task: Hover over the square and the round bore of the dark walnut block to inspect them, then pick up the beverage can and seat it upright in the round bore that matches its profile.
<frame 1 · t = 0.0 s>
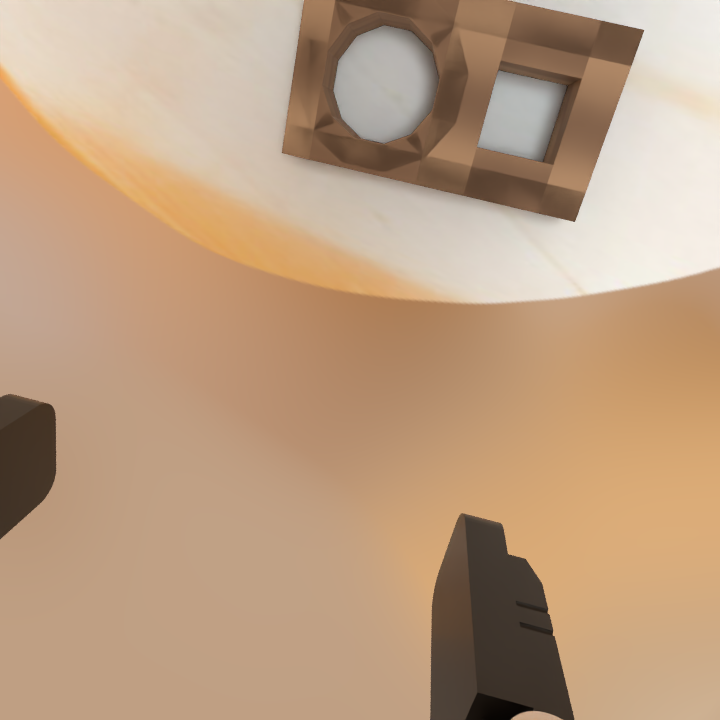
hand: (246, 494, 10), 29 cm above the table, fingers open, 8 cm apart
walnut bore block: (385, 86, 34), on the table
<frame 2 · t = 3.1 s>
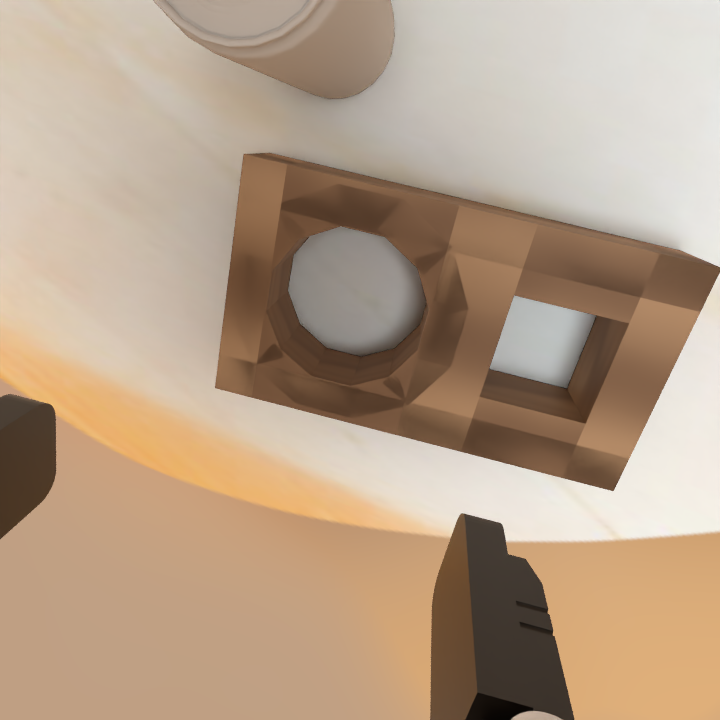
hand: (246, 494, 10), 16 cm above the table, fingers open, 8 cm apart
beverage can: (338, 34, 22), on the table
walnut bore block: (357, 289, 25), on the table
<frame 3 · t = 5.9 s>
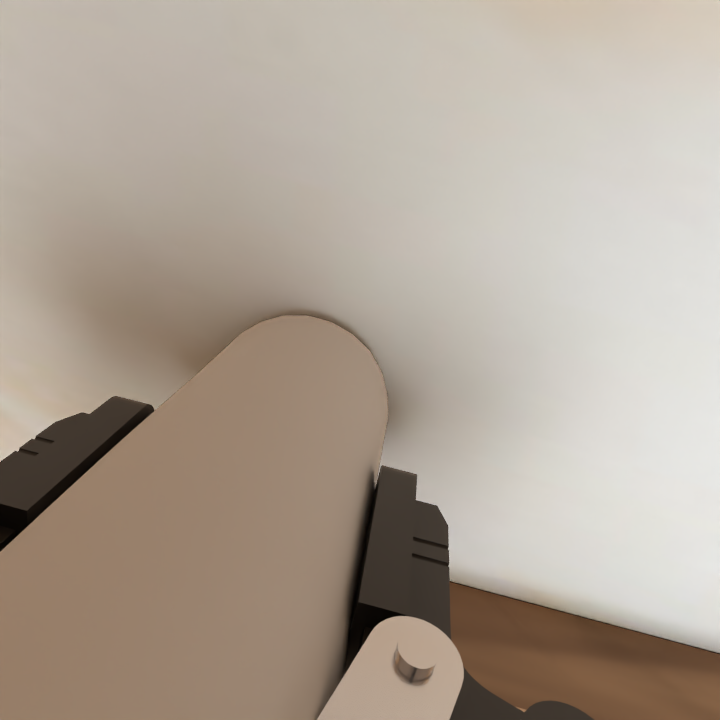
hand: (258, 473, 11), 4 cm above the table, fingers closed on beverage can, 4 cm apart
beverage can: (306, 389, 15), on the table, touching gripper
walnut bore block: (340, 672, 18), on the table
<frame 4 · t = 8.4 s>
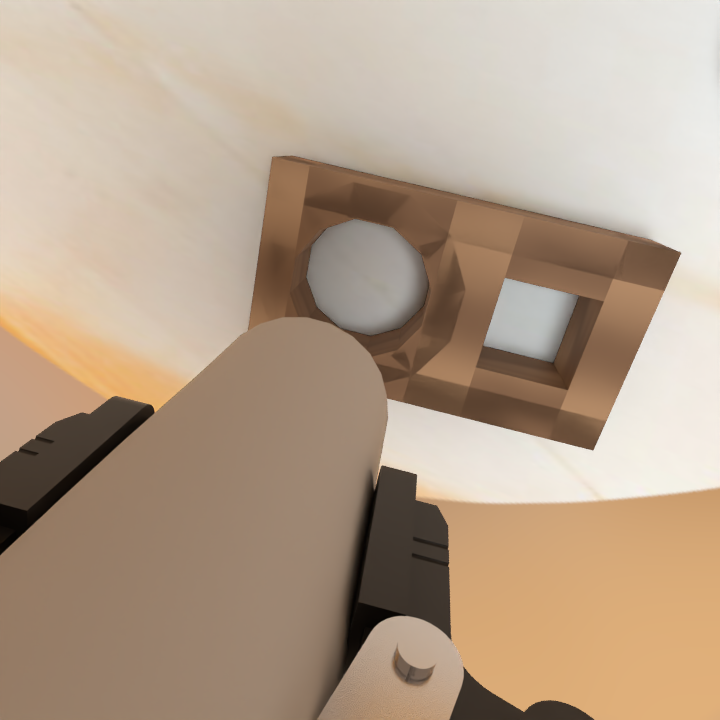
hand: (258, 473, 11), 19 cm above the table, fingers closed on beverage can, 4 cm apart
beverage can: (305, 391, 15), point 15 cm above the table, touching gripper
walnut bore block: (368, 275, 29), on the table
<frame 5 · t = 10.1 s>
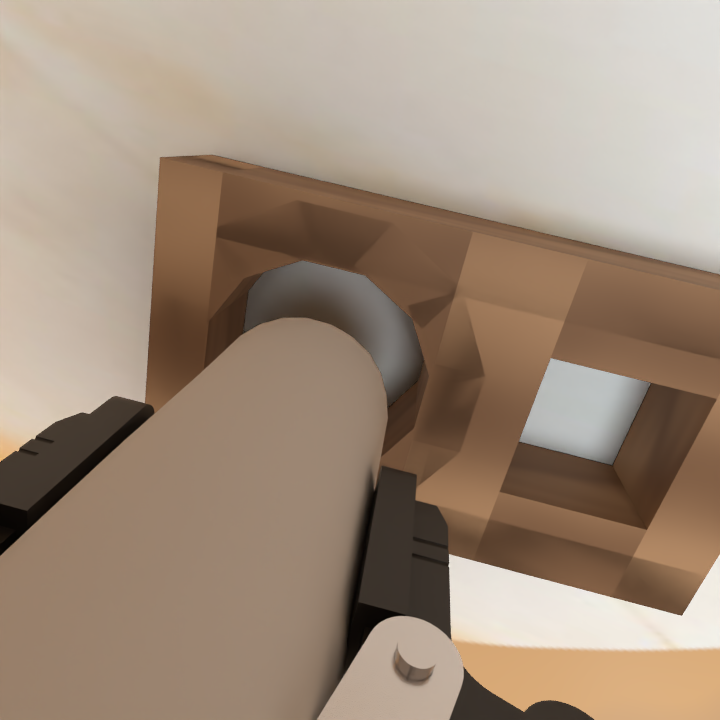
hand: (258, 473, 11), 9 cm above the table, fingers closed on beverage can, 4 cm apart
beverage can: (305, 391, 15), point 4 cm above the table, touching gripper
walnut bore block: (334, 336, 19), on the table
when the fingers open (5 cm above the table, at t = 11.3 s): beverage can stays where it is, resting in walnut bore block.
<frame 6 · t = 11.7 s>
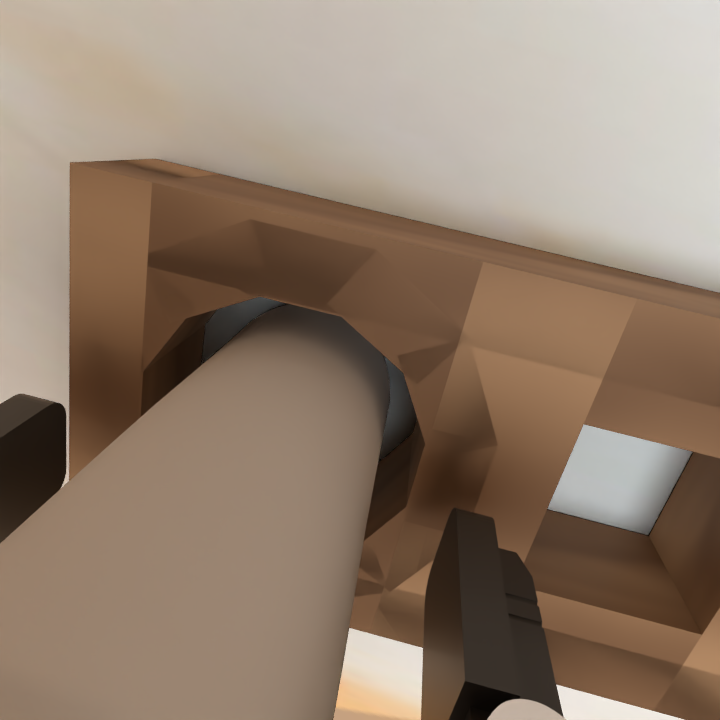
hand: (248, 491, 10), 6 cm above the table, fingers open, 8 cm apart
beverage can: (312, 375, 16), resting in walnut bore block
walnut bore block: (310, 379, 16), on the table
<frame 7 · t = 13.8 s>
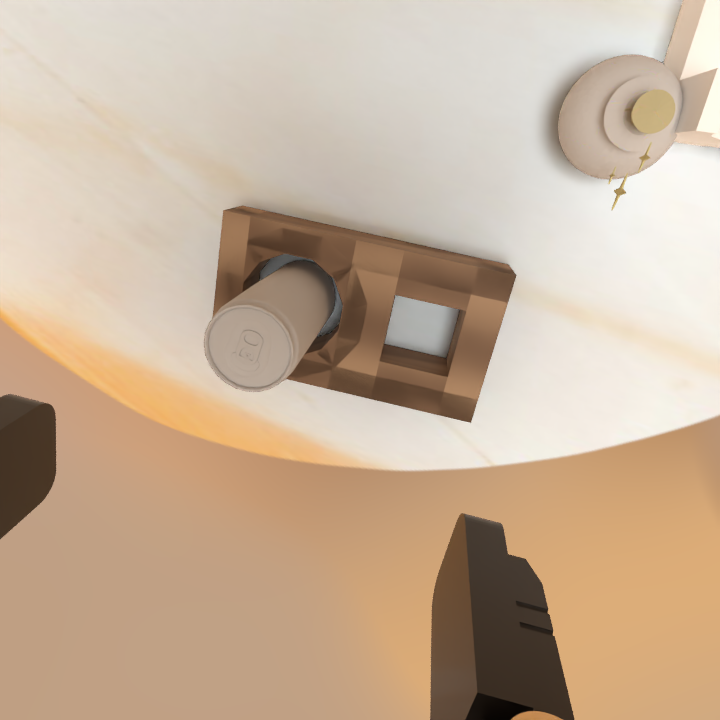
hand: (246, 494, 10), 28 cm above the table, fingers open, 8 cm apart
round potion bottle: (596, 135, 32), on the table
beverage can: (304, 292, 38), resting in walnut bore block
walnut bore block: (303, 293, 38), on the table
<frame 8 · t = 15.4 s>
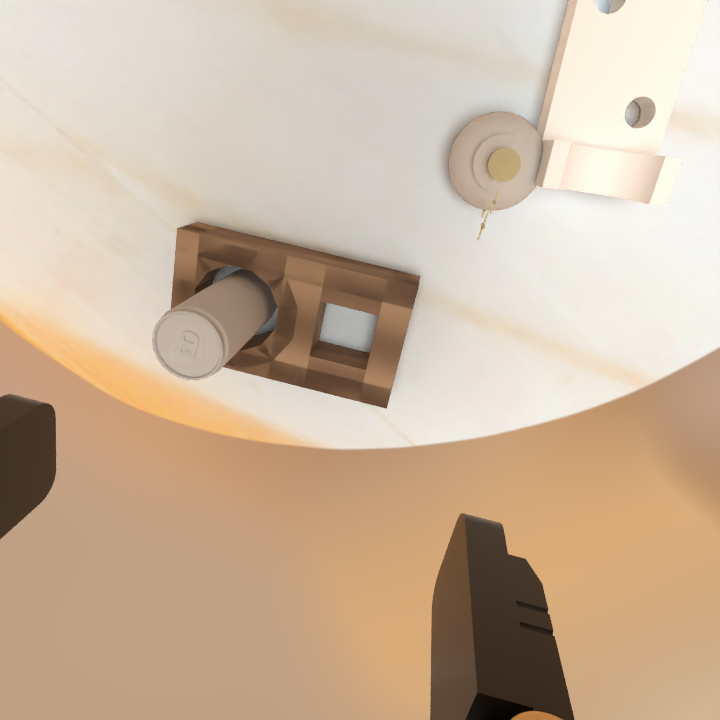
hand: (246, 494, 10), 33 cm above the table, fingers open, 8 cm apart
round potion bottle: (487, 171, 39), on the table
bracket: (601, 86, 36), on the table
beverage can: (250, 296, 44), resting in walnut bore block
walnut bore block: (249, 297, 44), on the table
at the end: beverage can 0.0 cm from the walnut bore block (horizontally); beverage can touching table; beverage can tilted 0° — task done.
